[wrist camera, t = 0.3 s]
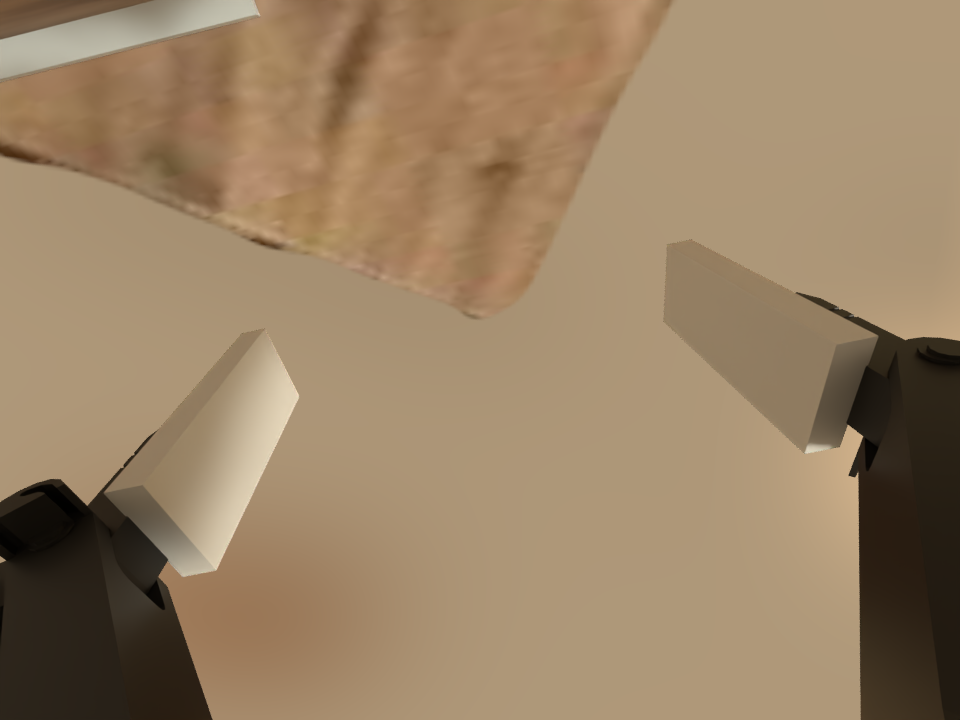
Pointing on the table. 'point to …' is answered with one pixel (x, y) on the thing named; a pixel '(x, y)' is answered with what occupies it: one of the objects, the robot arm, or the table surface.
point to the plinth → (100, 28)
